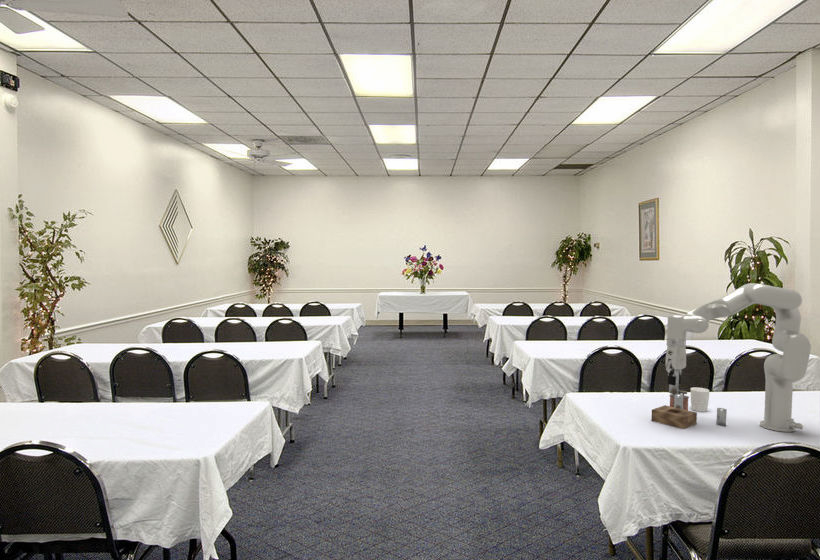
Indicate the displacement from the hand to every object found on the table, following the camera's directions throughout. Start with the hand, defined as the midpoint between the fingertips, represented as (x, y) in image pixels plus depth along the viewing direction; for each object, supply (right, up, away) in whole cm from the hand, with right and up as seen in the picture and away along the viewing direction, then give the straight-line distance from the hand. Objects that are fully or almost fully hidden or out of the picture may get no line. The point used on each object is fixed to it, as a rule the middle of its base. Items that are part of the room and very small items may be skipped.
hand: (674, 383), depth 228 cm
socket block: (0, -17, +1) cm, 17 cm away
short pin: (+19, -18, -2) cm, 26 cm away
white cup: (+22, -17, +20) cm, 35 cm away
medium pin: (+7, -17, +9) cm, 20 cm away
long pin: (0, -4, 0) cm, 4 cm away
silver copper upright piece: (+11, -17, +18) cm, 27 cm away
